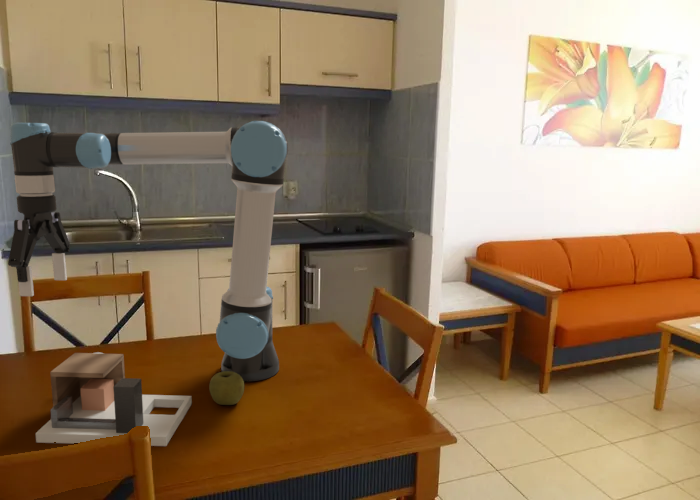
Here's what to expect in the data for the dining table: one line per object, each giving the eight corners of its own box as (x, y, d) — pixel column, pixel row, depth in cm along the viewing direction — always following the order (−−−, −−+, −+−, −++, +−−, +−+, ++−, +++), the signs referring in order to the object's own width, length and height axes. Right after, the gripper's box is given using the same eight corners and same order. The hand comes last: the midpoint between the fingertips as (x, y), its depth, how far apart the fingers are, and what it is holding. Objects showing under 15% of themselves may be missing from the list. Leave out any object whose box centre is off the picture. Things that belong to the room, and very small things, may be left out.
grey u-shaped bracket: (149, 415, 119) (147, 371, 117) (136, 433, 112) (133, 387, 110) (67, 412, 119) (64, 369, 117) (48, 431, 112) (44, 384, 110)
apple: (214, 395, 134) (213, 367, 132) (247, 396, 133) (247, 368, 132) (205, 410, 126) (204, 380, 125) (240, 411, 126) (240, 382, 125)
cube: (114, 399, 125) (113, 379, 125) (105, 410, 121) (103, 389, 120) (92, 399, 125) (91, 378, 125) (82, 409, 121) (80, 388, 120)
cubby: (125, 395, 128) (123, 354, 126) (105, 417, 118) (103, 373, 116) (78, 393, 128) (75, 352, 126) (54, 416, 118) (50, 371, 116)
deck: (191, 404, 129) (191, 396, 128) (166, 446, 111) (165, 437, 111) (79, 400, 129) (79, 392, 128) (36, 442, 111) (35, 433, 111)
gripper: (50, 188, 135) (58, 273, 139) (-20, 200, 110) (-8, 302, 114) (81, 189, 134) (87, 274, 139) (18, 201, 110) (28, 303, 114)
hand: (44, 287), depth 127 cm, fingers open, 13 cm apart
